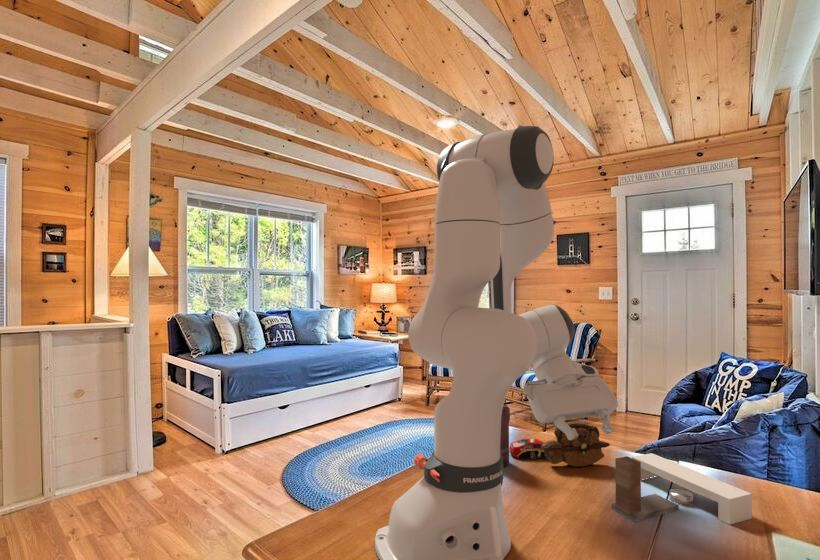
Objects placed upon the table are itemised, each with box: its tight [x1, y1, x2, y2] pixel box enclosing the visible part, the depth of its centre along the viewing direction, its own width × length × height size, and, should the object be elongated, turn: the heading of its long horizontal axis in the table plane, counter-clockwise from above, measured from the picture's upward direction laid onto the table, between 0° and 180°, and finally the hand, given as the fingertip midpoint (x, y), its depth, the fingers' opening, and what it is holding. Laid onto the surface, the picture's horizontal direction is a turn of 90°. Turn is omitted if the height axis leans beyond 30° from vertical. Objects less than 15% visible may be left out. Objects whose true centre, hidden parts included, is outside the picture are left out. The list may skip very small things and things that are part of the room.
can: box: [500, 403, 511, 468], centre depth 106 cm, size 6×6×14 cm
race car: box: [509, 438, 547, 460], centre depth 111 cm, size 13×5×4 cm, turn 90°
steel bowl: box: [668, 488, 694, 506], centre depth 87 cm, size 4×4×2 cm
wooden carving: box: [541, 420, 611, 467], centre depth 104 cm, size 16×5×10 cm, turn 101°
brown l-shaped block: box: [611, 456, 680, 523], centre depth 84 cm, size 12×5×10 cm, turn 111°
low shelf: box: [631, 452, 753, 525], centre depth 89 cm, size 6×21×4 cm, turn 21°
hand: (592, 435), depth 89 cm, fingers open, 8 cm apart
